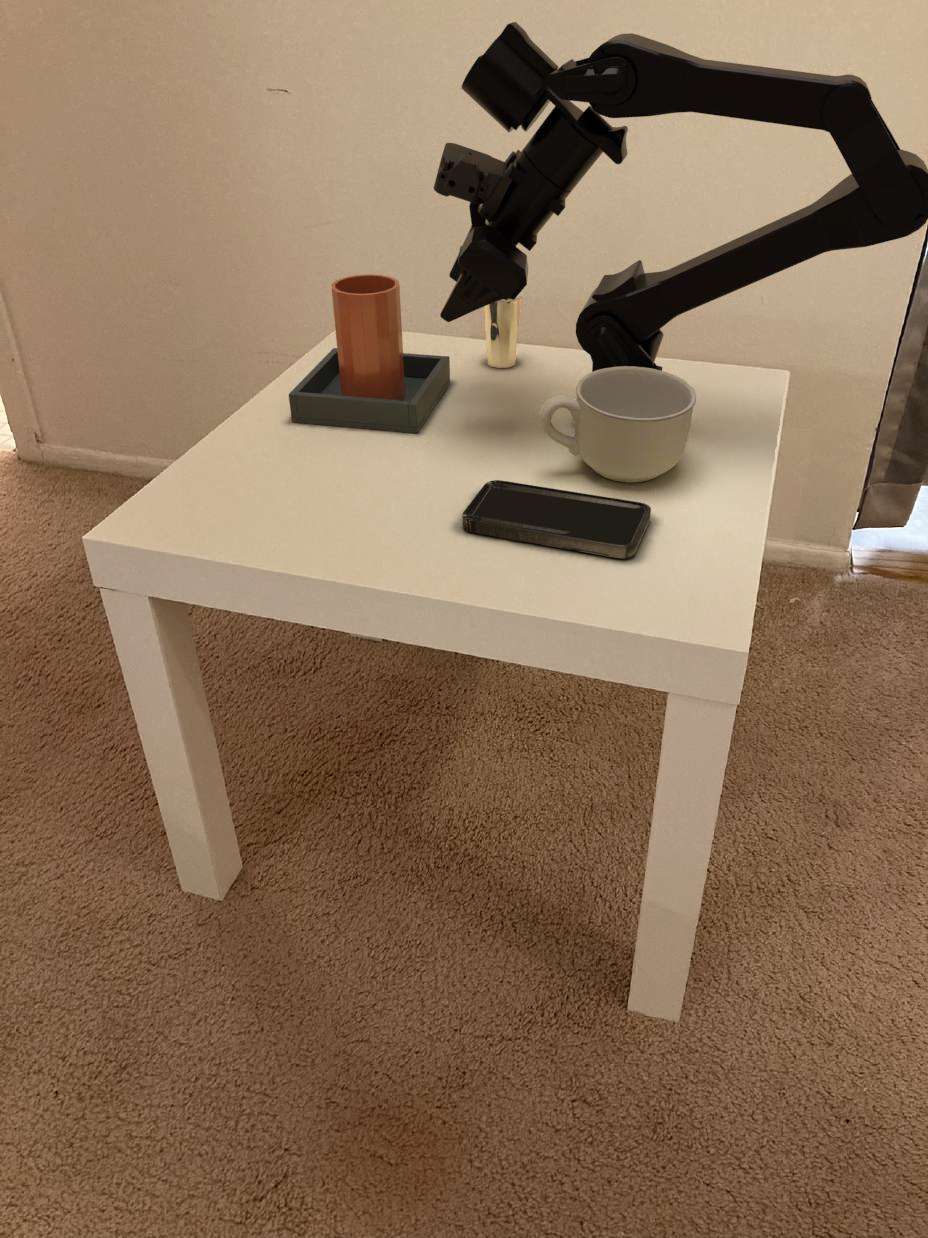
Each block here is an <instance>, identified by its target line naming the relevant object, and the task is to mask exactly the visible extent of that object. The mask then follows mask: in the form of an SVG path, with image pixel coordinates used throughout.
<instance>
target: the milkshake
mask: <svg viewBox="0 0 928 1238" xmlns="http://www.w3.org/2000/svg"><path fill="white" fill-rule="evenodd" d="M522 303H523V290H522V291H521V292H520V293H519V295H518V296H517V297H516V298H515V299H514V300H513V299H508V300H504V299H502V300H499V301H497V302H494V303H491V304H489V305H486V306H484V307H482V308H483V309H482V310H483V316H484V317H483V319H484V330H485V343H486V344H485V345H486V359H487V364H488V365H489V366H490V367H492V368H497V369H507V368H508V369H509V368H511V367H514V366H515V364H516V362H517V351H518V350H517V349H518V340H519V339H518V338H519V327H520V320H521V319H520V318H521V310H522Z"/></svg>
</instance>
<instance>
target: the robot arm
mask: <svg viewBox="0 0 928 1238" xmlns="http://www.w3.org/2000/svg"><path fill="white" fill-rule="evenodd" d="M460 88H461V90H462V91H464V92H465V93H466V94H467V95H468V96H469V97H470V98H471V99H472V100H473V101H474V102H475V103H476V104H477V105H478V106H479V107H480V108H481V109H482V110H484V111H485V112H486V113H487V114H488V115H489V116H490V117H491V118H492V119H493V120H495V121H496V123H498V125H500V126H501V127H502V128H503V129H504V130H505V131H506V132H507V133H511V132H512V131H513V130H514V131H517V130H518V129H520V127H521V129H522V130H523V131H524V132H525V133H526V132H527V131H529V130H530V128H532V126H533V125H534V124H535V122H536V121H538V119H539V118H540V116H541V115H542V114H543V112H544V111H545V109H546V108H547V107H548V106H549V104H550V103H551V104H552V105H553V106H554V107H553V108H552V109H551V111H550V112H549V113H548V115H547V116H546V118H544V119H543V120H544V121H543V122H542V123H541V124H540V126H539V127H538V128H537V130H536V131H535V132H534V133H533V135H532V137H530V139H529V140H528V142H527V143H526V144H525V146H524V147H523V149H522V150H520V149H517V150H516V151H514V150H512V151H511V153H510V154H509V156H507V158H506V159H505V161H503V160H500V159H498V158H496V157H493V156H491V155H490V154H487V153H484V152H482V151H480V150H479V151H478V150H475V149H472V148H469V147H468V146H464V145H461V144H458V143H455V142H446V143H445V144H444V147H443V151H442V154H441V157H440V161H439V166H438V168H437V173H436V177H435V181H434V185H433V190H434V192H436V193H437V194H438V195H440V196H444V197H454V198H457V199H459V200H463V201H466V202H469V206H468V207H469V208H468V209H469V216H470V222H471V225H470V228H469V230H468V232H467V234H466V237H465V239H464V241H463V244H462V245H460V246H459V252H458V254H457V256H456V258H455V260H454V263H453V265H452V267H451V269H450V272H449V274H448V276H449V278H450V279H452V280H453V281H454V282H455V284H454V286H453V288H452V290H451V291H450V294H449V295H448V298H447V300H446V301H445V302H444V303H445V304H444V306H443V308H442V310H441V312H440V313H439V315H440V318H441V319H442V320H444V321H445V322H447V323H450V322H452V321H455V320H457V319H459V318H462V317H464V316H466V315H468V314H470V313H473V312H474V311H478V310H479V309H481V308H483V307H484V306H486V305H489V304H491V303H494V302H497V301H499V300H502V299H504V300H508V299H513V300H514V299H515V298H516V297H517V296H518V295H519V293H520V292H521V291H522V292H523V290H524V289H525V287H526V286H528V276H529V263H528V255H527V254H526V253H525V252H523V251H522V250H521V249H520V248H518V247H517V245H519V244H520V245H521V246H522V247H523V248H525V249H526V250H527V251H529V252H531V250H532V249H533V248H534V247H535V245H537V243H538V242H537V241H538V234H540V233H539V232H540V231H542V229H543V228H544V226H545V225H546V224H547V222H548V221H550V219H551V218H552V217H553V215H554V214H555V215H556V216H557V217H559V216H560V215H561V213H563V212H564V210H565V208H566V199H567V198H568V197H569V195H570V194H571V193H572V191H573V190H574V189H575V188H576V187H577V185H578V184H579V183H580V182H581V180H582V179H583V178H584V177H585V175H586V174H587V173H588V172H589V170H590V169H591V168H592V167H593V165H594V164H595V163H596V162H597V160H598V159H599V158H600V157H601V156H602V154H605V155H606V156H607V157H608V158H609V159H610V160H611V162H613V163H614V164H615V165H620V164H622V163H623V162H624V161H625V159H626V158H627V156H628V148H627V136H628V135H627V134H628V131H629V128H628V126H627V125H621V126H612V125H611V124H610V123H609V122H608V121H607V120H606V119H605V118H604V117H606V118H609V119H624V118H625V119H626V118H627V119H628V118H645V117H646V118H647V117H656V116H662V115H668V114H669V115H670V114H680V113H695V114H703V115H710V116H718V117H725V118H730V119H731V118H733V119H740V120H746V121H754V122H760V123H761V122H762V123H769V124H775V125H782V126H789V127H790V126H791V127H797V128H805V129H811V130H812V129H813V130H820V131H824V132H827V133H829V134H830V136H831V138H832V139H833V141H834V143H835V145H836V147H837V149H838V150H839V152H840V154H841V156H842V159H843V160H844V162H845V164H846V165H847V167H848V169H849V171H850V173H851V174H849V175H848V176H846V177H845V178H843V179H842V180H841V181H840V182H838V183H837V184H836V185H835V186H833V187H832V188H831V189H829V190H828V191H827V192H826V193H825V194H824V195H822V196H821V197H819V199H817V200H816V201H814V202H813V203H811V204H809V205H807V206H805V207H802V208H800V209H798V210H796V211H793V212H792V213H789V214H787V215H785V216H783V217H780V218H779V219H776V220H774V221H771V222H770V223H768V224H765V225H763V226H761V227H759V228H757V229H754V230H752V231H750V232H747V233H746V234H743V235H741V236H739V237H737V238H734V239H732V240H730V241H728V242H726V243H723V244H722V245H721V244H720V245H719V246H717V247H715V248H713V249H711V250H708V251H706V252H704V253H702V254H700V255H698V256H695V257H693V258H691V259H689V260H686V261H684V262H681V263H680V264H678V265H675V266H673V267H671V268H669V269H666V270H663V271H653V272H652V271H651V272H645V269H644V265H643V261H642V260H641V259H639V260H637V261H635V262H634V263H632V264H631V265H629V266H627V267H626V268H625V269H623V270H621V271H620V272H616V273H614V274H604V275H603V276H602V278H601V280H600V281H599V283H598V285H597V287H596V288H595V289H594V290H593V291H592V292H591V294H590V295H589V297H588V299H587V301H586V302H585V304H584V306H583V308H582V309H581V310H580V313H579V315H578V317H577V320H576V323H575V335H576V338H577V343H578V344H579V345H580V347H581V349H582V350H583V351H584V352H586V353H587V354H588V355H589V356H590V358H591V364H592V366H591V372H593V371H596V370H600V369H604V368H611V367H619V366H634V367H645V368H652V369H656V370H660V371H663V366H660V365H657V363H656V362H655V361H656V359H657V356H658V352H659V349H660V347H661V344H662V341H663V339H664V332H663V331H662V330H661V329H662V328H663V327H665V326H666V325H667V324H669V322H671V321H672V320H673V319H675V318H676V317H678V316H680V315H682V314H685V313H686V312H689V311H691V310H694V309H696V308H698V307H701V306H703V305H706V304H708V303H710V302H712V301H713V302H714V301H715V300H717V299H720V298H722V297H724V296H727V295H729V294H732V293H733V292H735V291H738V290H740V289H742V288H745V287H748V286H750V285H752V284H754V283H757V282H759V281H762V280H764V279H766V278H768V277H771V276H773V275H775V274H778V273H780V272H782V271H785V270H788V269H790V268H792V267H794V266H796V265H798V264H801V263H804V262H806V261H808V260H811V259H812V258H815V257H817V256H820V255H822V254H824V253H828V252H831V251H832V252H833V251H841V250H842V251H843V250H850V249H851V250H852V249H859V248H860V249H861V248H867V247H870V246H875V245H879V244H883V243H887V242H891V241H895V240H899V239H902V238H906V237H908V236H911V235H912V234H914V233H916V232H917V231H919V230H920V229H922V227H923V226H925V224H927V221H928V167H927V165H926V163H925V161H924V160H923V159H922V158H921V157H920V156H919V155H917V154H916V153H913V152H910V151H908V150H904V149H901V148H900V146H899V144H898V142H897V140H896V139H895V137H894V135H893V133H892V132H891V130H890V129H889V126H888V125H887V123H886V122H885V120H884V118H883V117H882V115H881V113H880V111H879V109H878V108H877V106H876V105H875V103H874V101H873V100H872V98H873V97H872V95H871V91H870V88H869V86H868V85H867V83H866V81H865V80H863V79H862V78H861V77H860V76H857V75H855V74H843V75H828V74H823V73H813V72H806V71H799V70H790V69H782V68H775V67H768V66H759V65H751V64H743V63H737V62H729V61H728V62H727V61H719V60H712V59H705V58H701V57H698V56H696V55H693V54H690V53H687V52H685V51H683V50H681V49H678V48H676V47H674V46H671V45H669V44H666V43H663V42H661V41H657V40H654V39H651V38H648V37H646V36H643V35H639V34H637V33H630V32H629V33H620V34H617V35H615V36H613V37H610V39H608V40H606V41H604V42H603V43H601V44H600V45H599V46H598V47H596V49H594V51H592V52H591V54H590V55H589V57H585V58H582V59H579V60H574V59H573V58H571V59H570V60H568V61H566V62H565V63H563V64H562V65H561V66H559V65H557V63H556V62H555V61H553V60H552V59H551V57H550V56H549V55H547V54H546V52H544V51H543V50H542V49H541V48H540V47H539V46H538V45H537V44H536V43H535V42H534V41H533V40H532V39H531V38H530V36H529V34H528V33H527V31H526V30H525V29H524V28H523V27H522V26H521V25H520V24H519V23H518V22H517V21H512V22H510V23H506V26H505V27H504V29H503V30H502V31H501V33H500V34H499V35H498V36H497V38H495V40H494V41H493V42H492V43H491V44H490V45H489V46H488V48H487V49H486V50H485V52H484V53H483V54H481V55H479V56H477V59H476V60H475V61H474V63H473V64H472V65H471V67H470V69H469V71H468V72H467V74H466V75H465V78H464V79H463V82H462V84H461V87H460ZM573 102H580V103H588V104H589V105H588V106H587V108H586V109H585V110H584V111H583V109H581V108H579V107H578V106H577V105H575V104H574V103H573Z"/></svg>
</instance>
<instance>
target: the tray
mask: <svg viewBox="0 0 928 1238" xmlns="http://www.w3.org/2000/svg"><path fill="white" fill-rule="evenodd" d="M403 360H404V379H405V397H404V399H403V400H390V399H377V398H365V397H353V396H342V394H341V384H340V374H339V363H338V352H337V347H333V348H332V349H331V350H330V351H329V352H328V353H327V354H326V355H325V356H324V357H323V358H322V359H321V360H320V361H319V362H318V363H317V364H316V365H315V367H314V368H312V369H311V370H310V372H308V373H307V375H305V376H304V378H303V379H302V380H301V381H300V382H299V383H298V384H296V386H295V387H294V388H293V389H292V390H291V391H290V392H289V393H288V403H289V409H290V418H291V423H298V424H307V425H318V426H319V425H320V426H330V427H331V426H332V427H340V428H341V427H342V428H354V429H363V430H364V429H365V430H376V431H377V430H378V431H388V432H398V433H410V434H418V433H419V432H420V430H421V428H422V427H423V425H424V424H425V422H426V421H427V420H428V418H429V416H430V415H431V413H432V412H433V410H434V408H435V407H436V405H437V404H438V402H439V400H441V398H442V396H443V395H444V393H445V392H446V390H447V389H448V387H449V386H450V384H451V365H450V364H451V363H450V356H449V355H437V354H436V355H435V354H420V353H409V352H403Z"/></svg>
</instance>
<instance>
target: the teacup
mask: <svg viewBox="0 0 928 1238" xmlns="http://www.w3.org/2000/svg"><path fill="white" fill-rule="evenodd" d="M575 395H576V399H574V398H573V397H571V396H569V395H564V394H560V395H553V396H552V397H550V398H549V399H548V400H546V401H545V403H544V404H543V405H542V406H541V409H540V412H539V424H540V426H541V429H542V431H543V432H544V433H545V434H546V436H547V437H548V438H549V439H551V440H552V441H553V442H555V443H557V444H559V445H561V446H563V447H564V448H567V449H568V451H569V453H570V454H571V455H573V456H577V457H578V456H579V457H580V458H581V460H582V461H583V462H584V463H585V464H586V465H587V466H589V467H590V468H591V469H592V470H593V471H594V472H595V473H597V474H598V475H600V476H601V477H604V478H606V479H609V480H612V481H615V482H620V483H621V482H622V483H631V484H632V483H642V482H648V481H650V480H652V479H655V478H658V477H659V476H660V475H663V474H665V473H666V472H668V471H670V470H671V469H673V468H674V467H675V466H676V465H677V464H678V463H679V462H680V460H681V459H682V457H683V455H684V452H685V450H686V447H687V443H688V439H689V434H690V428H691V425H692V424H691V423H692V417H693V411H694V406H695V405H696V401H697V394H696V391H695V388H694V387H692V385H691V384H689V383H688V382H687V381H686V380H684V379H683V378H681V377H680V376H677V375H675V374H673V373H670V372H667V371H664V370H662V371H660V370H656V369H652V368H645V367H634V366H619V367H611V368H604V369H600V370H596V371H593V372H592V371H591V372H589V373H587V374H585V375H584V376H582V377H581V378H580V379H579V380H578V382H577V384H576V387H575ZM559 409H566V410H568V411H569V412H570V414H571V417H572V421H573V422H574V436H571V435H568V434H566V433H563V432H561V431H559V430H558V429H557V428H555V426H554V425H553V424H552V416H553V414H554V413H555V412H556V411H557V410H559Z"/></svg>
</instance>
